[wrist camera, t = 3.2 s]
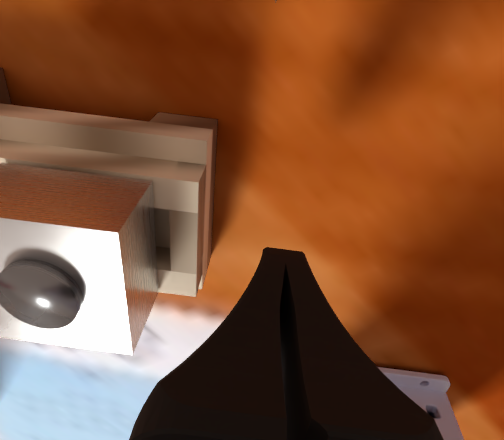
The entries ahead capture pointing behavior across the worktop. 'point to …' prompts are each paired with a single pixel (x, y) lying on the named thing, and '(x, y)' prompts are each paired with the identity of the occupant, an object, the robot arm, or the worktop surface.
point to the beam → (132, 171)
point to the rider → (76, 258)
